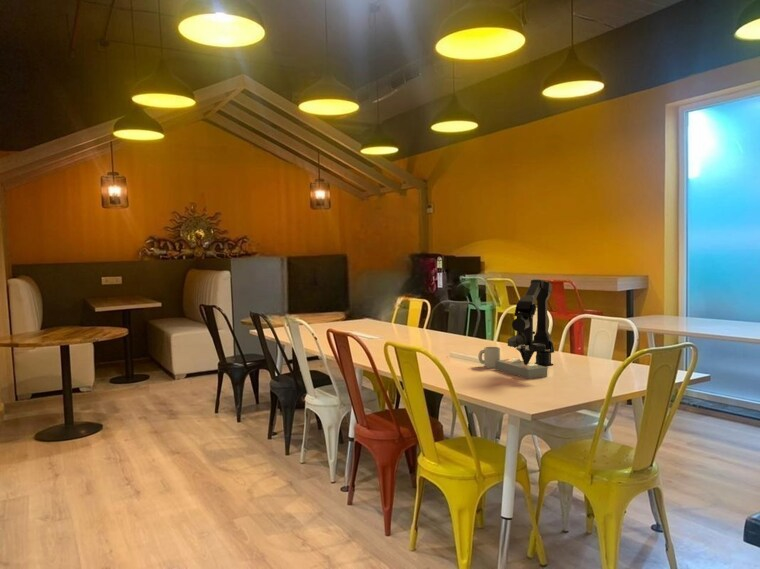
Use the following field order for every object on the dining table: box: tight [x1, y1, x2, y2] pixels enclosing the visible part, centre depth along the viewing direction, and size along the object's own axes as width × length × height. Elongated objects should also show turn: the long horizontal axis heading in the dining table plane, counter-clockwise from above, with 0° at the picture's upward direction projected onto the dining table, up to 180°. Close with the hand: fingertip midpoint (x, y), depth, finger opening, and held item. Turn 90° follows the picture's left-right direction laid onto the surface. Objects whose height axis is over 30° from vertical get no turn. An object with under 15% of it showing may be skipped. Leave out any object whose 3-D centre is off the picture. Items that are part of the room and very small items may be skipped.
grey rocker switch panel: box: [495, 358, 548, 380], centre depth 251 cm, size 10×23×4 cm, turn 25°
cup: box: [478, 346, 501, 369], centre depth 266 cm, size 7×10×9 cm
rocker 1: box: [505, 357, 521, 363], centre depth 256 cm, size 6×4×1 cm, turn 115°
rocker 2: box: [521, 362, 538, 368], centre depth 246 cm, size 6×4×1 cm, turn 115°
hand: (525, 364), depth 245 cm, fingers closed
